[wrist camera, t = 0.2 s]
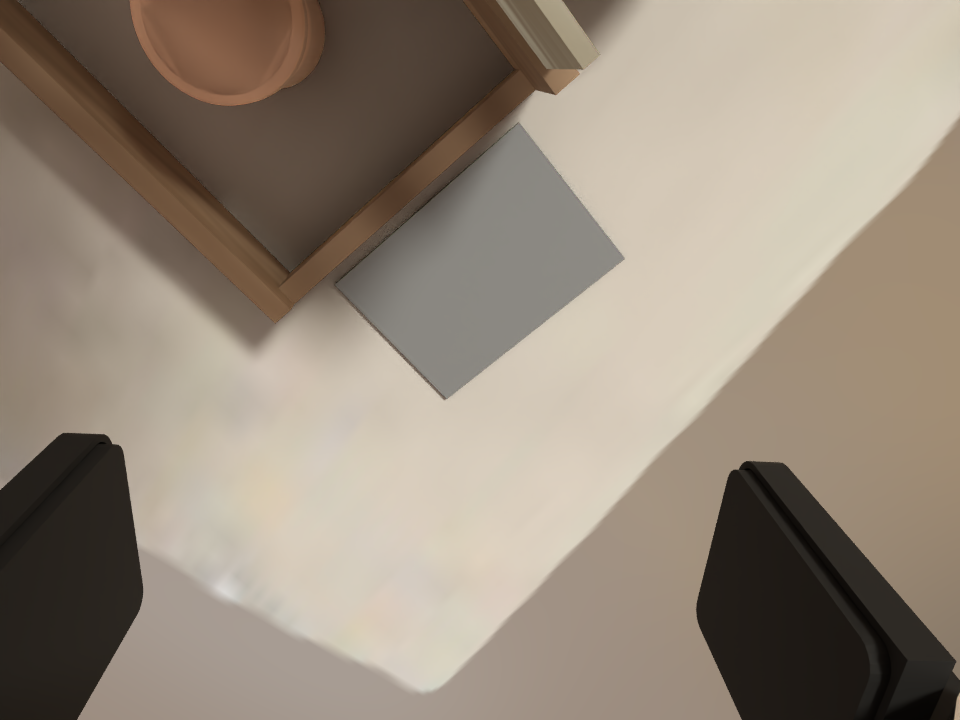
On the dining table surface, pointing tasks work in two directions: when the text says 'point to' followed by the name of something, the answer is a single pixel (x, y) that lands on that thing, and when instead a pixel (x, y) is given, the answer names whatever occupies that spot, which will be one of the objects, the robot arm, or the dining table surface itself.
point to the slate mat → (481, 264)
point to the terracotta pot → (230, 45)
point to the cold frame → (205, 221)
